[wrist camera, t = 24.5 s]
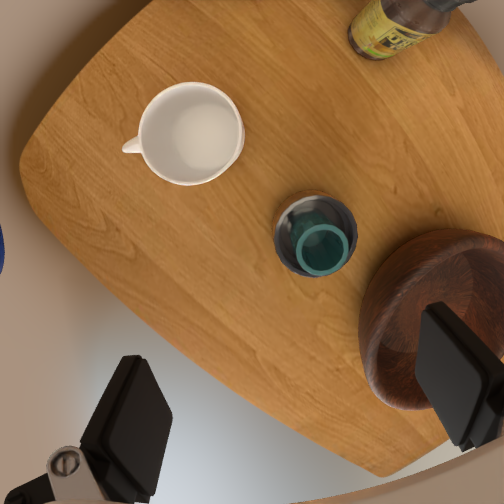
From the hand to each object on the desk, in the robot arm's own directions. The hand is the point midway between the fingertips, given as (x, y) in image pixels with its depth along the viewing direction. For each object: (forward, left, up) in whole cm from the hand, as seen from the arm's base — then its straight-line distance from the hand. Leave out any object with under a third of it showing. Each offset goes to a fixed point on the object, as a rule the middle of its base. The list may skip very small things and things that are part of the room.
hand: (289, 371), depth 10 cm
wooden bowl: (+21, -17, -28) cm, 39 cm away
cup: (+5, -4, -28) cm, 28 cm away
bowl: (+5, -4, -28) cm, 29 cm away
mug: (-6, +9, -28) cm, 31 cm away
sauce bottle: (+17, +18, -28) cm, 38 cm away
